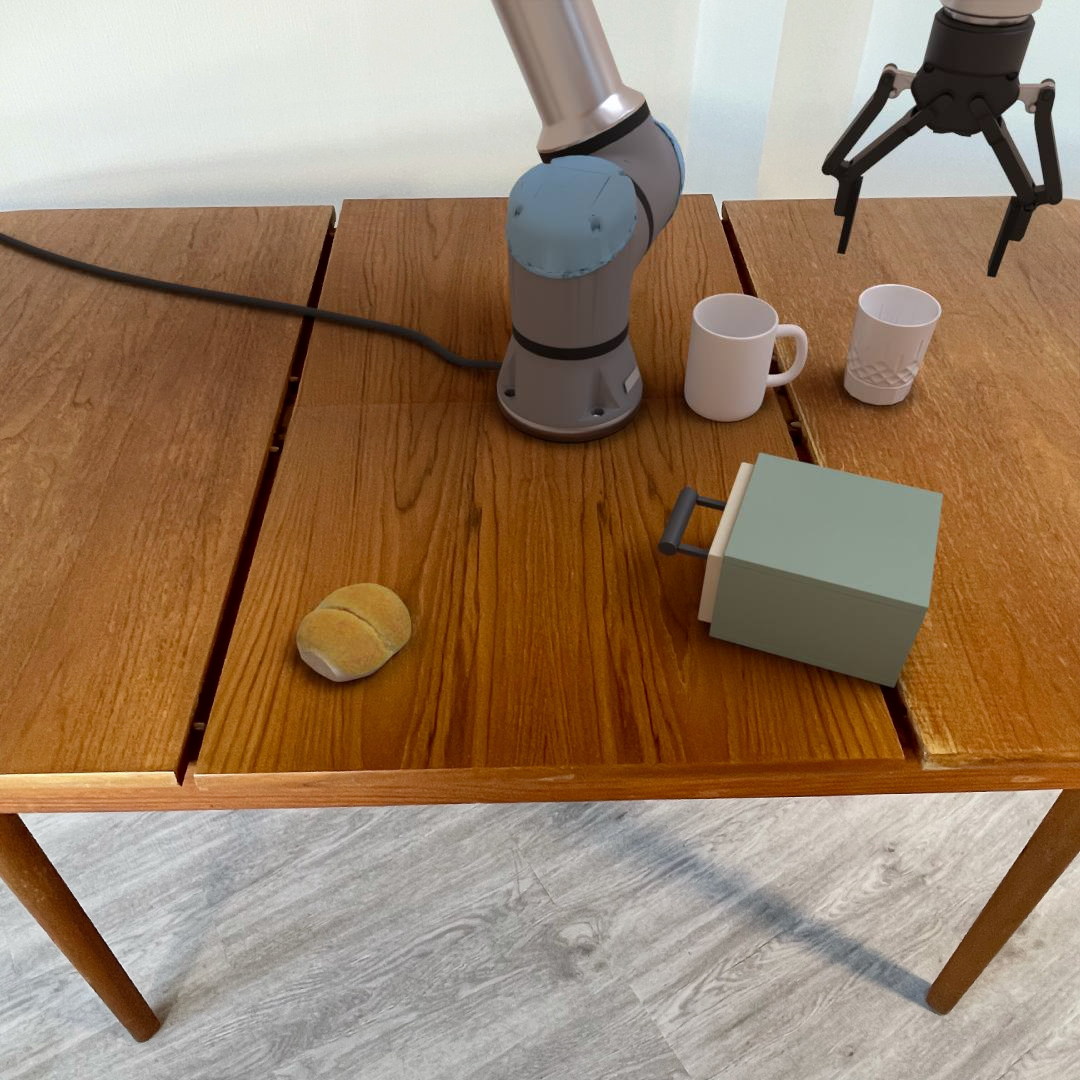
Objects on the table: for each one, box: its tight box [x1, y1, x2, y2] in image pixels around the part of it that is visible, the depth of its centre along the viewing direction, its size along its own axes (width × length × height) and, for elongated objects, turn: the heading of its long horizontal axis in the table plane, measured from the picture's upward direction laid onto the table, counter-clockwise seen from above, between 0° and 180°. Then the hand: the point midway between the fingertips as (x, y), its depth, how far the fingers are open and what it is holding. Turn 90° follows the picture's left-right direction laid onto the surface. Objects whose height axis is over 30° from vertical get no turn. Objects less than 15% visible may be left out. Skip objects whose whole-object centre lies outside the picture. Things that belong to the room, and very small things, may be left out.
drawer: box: [657, 461, 755, 624], centre depth 75 cm, size 18×11×8 cm, turn 69°
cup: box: [683, 292, 809, 423], centre depth 94 cm, size 8×12×10 cm
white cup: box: [843, 283, 942, 406], centre depth 95 cm, size 8×8×10 cm
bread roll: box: [295, 582, 412, 683], centre depth 74 cm, size 8×9×4 cm
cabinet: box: [708, 452, 944, 688], centre depth 74 cm, size 15×13×10 cm
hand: (915, 258), depth 88 cm, fingers open, 13 cm apart
